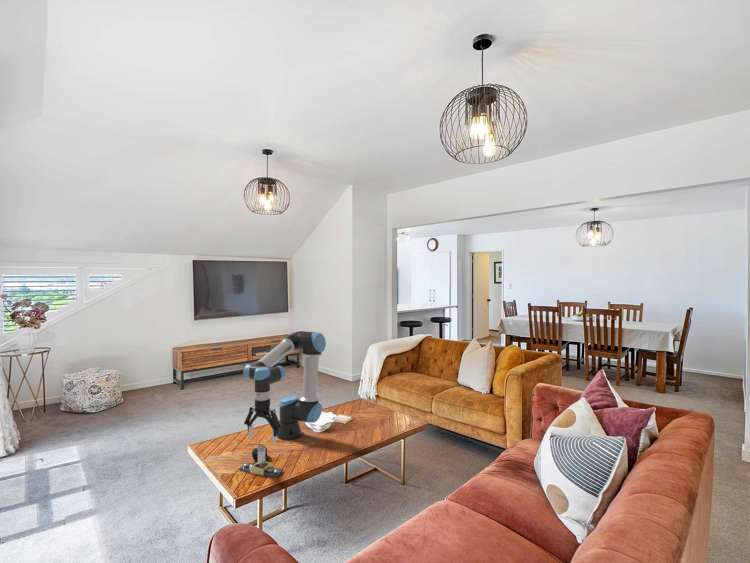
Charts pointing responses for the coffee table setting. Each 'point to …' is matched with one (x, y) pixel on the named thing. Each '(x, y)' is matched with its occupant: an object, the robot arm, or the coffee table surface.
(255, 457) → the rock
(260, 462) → the pin
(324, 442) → the coffee table surface
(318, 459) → the coffee table surface
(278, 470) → the chain ends
